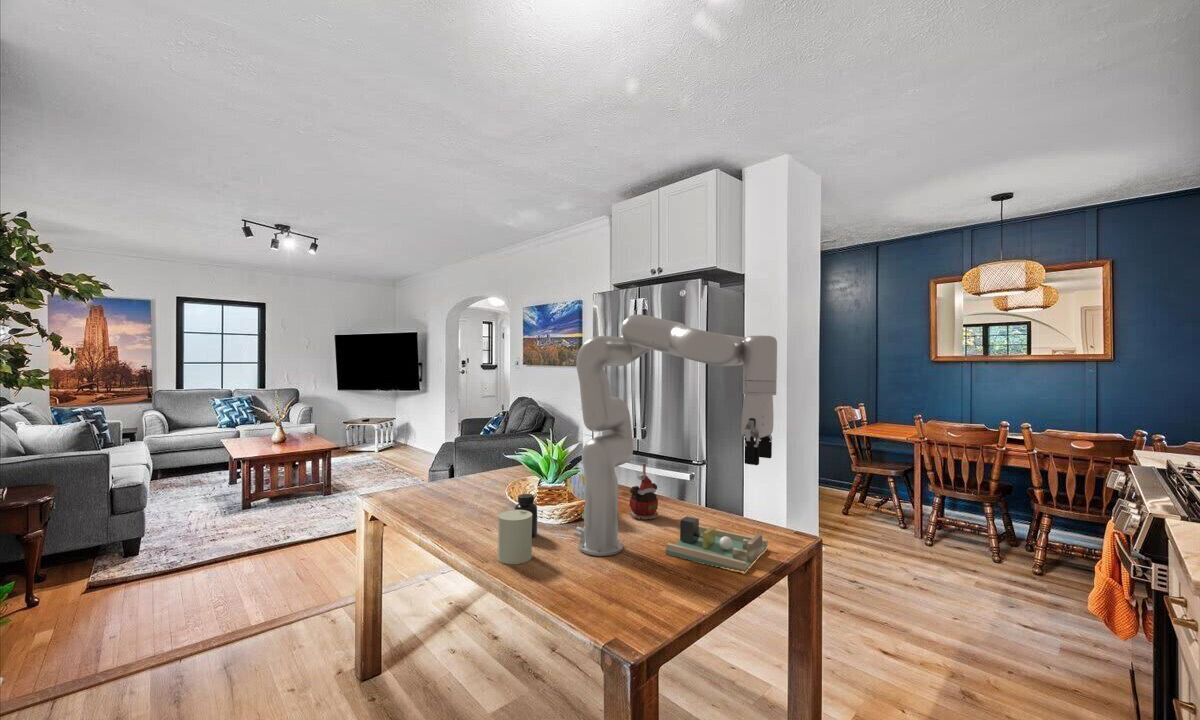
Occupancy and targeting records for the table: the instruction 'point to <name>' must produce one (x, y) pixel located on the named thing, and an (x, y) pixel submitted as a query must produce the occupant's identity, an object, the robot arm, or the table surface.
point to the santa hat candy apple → (644, 498)
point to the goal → (749, 549)
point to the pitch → (713, 550)
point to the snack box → (577, 484)
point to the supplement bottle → (528, 509)
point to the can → (515, 536)
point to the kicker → (695, 532)
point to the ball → (725, 543)
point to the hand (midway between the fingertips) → (758, 460)
